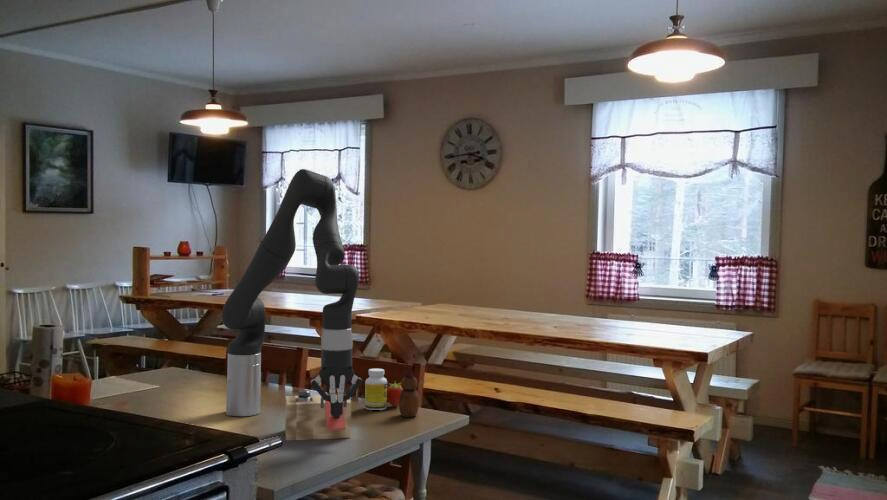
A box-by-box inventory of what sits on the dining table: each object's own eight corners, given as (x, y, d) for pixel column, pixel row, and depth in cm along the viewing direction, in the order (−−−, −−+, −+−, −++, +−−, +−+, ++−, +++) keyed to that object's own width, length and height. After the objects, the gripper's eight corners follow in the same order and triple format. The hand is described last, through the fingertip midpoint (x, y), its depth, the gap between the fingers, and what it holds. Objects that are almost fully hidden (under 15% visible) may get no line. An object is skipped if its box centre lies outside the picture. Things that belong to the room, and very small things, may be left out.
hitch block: (286, 442, 188) (287, 399, 188) (285, 430, 199) (285, 389, 199) (351, 439, 192) (352, 397, 192) (346, 427, 203) (347, 388, 203)
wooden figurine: (398, 413, 221) (399, 361, 221) (418, 413, 222) (419, 361, 221) (398, 418, 215) (399, 365, 214) (419, 418, 215) (420, 365, 215)
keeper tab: (327, 430, 184) (327, 427, 183) (324, 401, 192) (324, 398, 191) (345, 430, 185) (345, 427, 184) (342, 400, 193) (342, 397, 192)
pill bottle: (383, 412, 222) (384, 372, 222) (362, 410, 223) (362, 371, 223) (389, 407, 229) (390, 368, 228) (368, 405, 230) (369, 367, 230)
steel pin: (297, 436, 193) (298, 392, 193) (297, 433, 196) (297, 390, 196) (310, 436, 194) (310, 392, 194) (309, 432, 197) (309, 389, 197)
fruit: (396, 409, 226) (396, 382, 226) (382, 407, 228) (382, 380, 228) (406, 406, 230) (407, 379, 230) (392, 403, 233) (393, 377, 233)
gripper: (361, 343, 191) (361, 412, 191) (308, 345, 188) (307, 414, 188) (365, 348, 183) (365, 419, 184) (310, 349, 180) (309, 422, 181)
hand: (336, 417), depth 186 cm, fingers closed
